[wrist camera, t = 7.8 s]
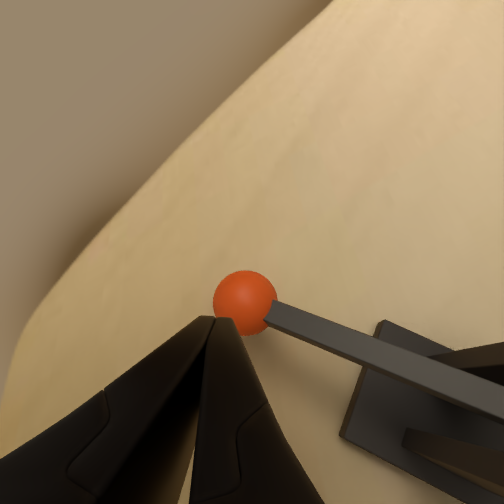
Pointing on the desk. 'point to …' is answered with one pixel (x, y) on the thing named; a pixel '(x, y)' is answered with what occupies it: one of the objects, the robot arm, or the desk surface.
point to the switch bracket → (431, 422)
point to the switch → (352, 345)
